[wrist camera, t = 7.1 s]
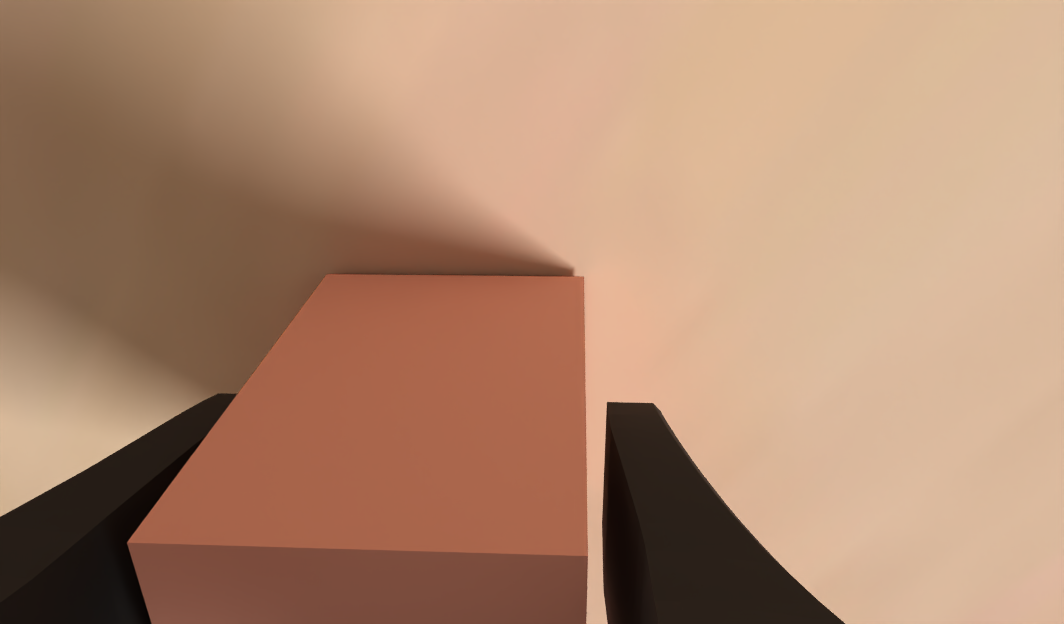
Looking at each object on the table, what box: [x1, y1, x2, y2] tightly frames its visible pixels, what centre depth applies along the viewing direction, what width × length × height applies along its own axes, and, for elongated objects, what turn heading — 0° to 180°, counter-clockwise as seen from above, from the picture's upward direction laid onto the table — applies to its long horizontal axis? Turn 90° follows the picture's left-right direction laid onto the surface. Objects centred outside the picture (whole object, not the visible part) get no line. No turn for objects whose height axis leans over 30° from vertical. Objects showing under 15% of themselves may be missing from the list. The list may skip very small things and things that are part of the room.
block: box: [127, 274, 588, 624], centre depth 10 cm, size 4×4×6 cm
